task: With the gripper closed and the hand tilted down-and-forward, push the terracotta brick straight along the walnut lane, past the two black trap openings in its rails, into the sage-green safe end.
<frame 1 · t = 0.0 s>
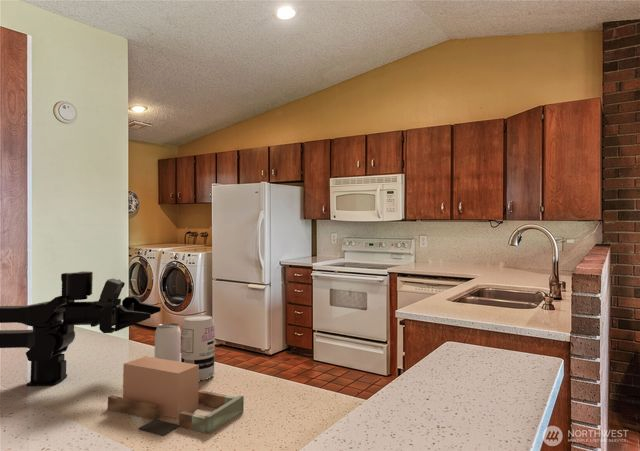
hand: (155, 312, 105), 17 cm above the worktop, tool horizontal, fingers open, 9 cm apart
lane: (175, 409, 86), on the worktop
can: (167, 371, 111), on the worktop
supplement can: (197, 377, 106), on the worktop
brick: (160, 407, 87), on the worktop
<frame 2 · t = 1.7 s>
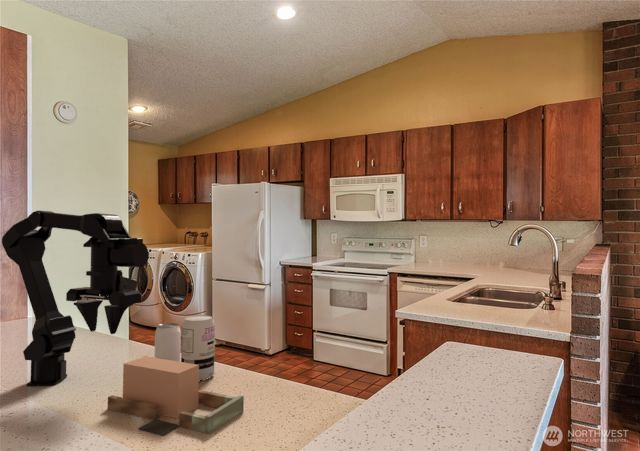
hand: (103, 332, 98), 13 cm above the worktop, tool pointing down, fingers open, 6 cm apart
nothing on the worktop moved.
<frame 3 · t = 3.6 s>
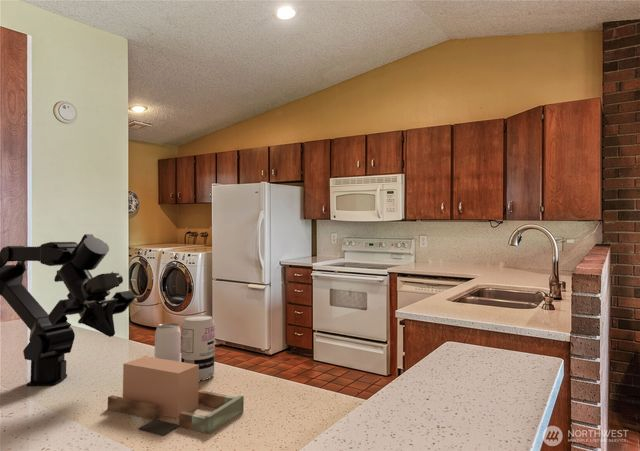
hand: (112, 335, 94), 13 cm above the worktop, tool tilted 45°, fingers closed
nothing on the worktop moved.
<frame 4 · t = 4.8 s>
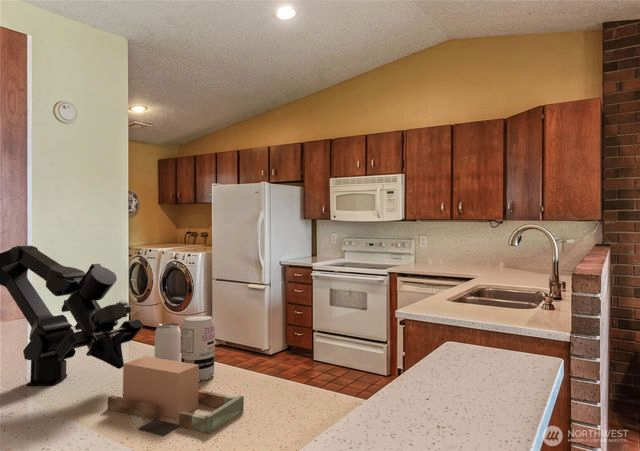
hand: (121, 367, 92), 7 cm above the worktop, tool tilted 45°, fingers closed
nothing on the worktop moved.
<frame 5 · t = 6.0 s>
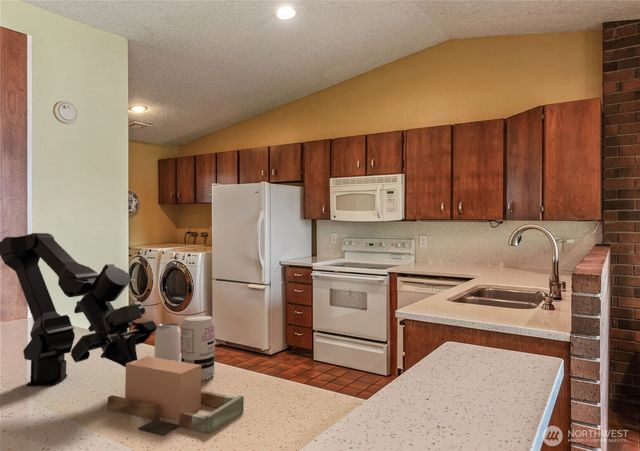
hand: (136, 369, 90), 7 cm above the worktop, tool tilted 45°, fingers closed
nothing on the worktop moved.
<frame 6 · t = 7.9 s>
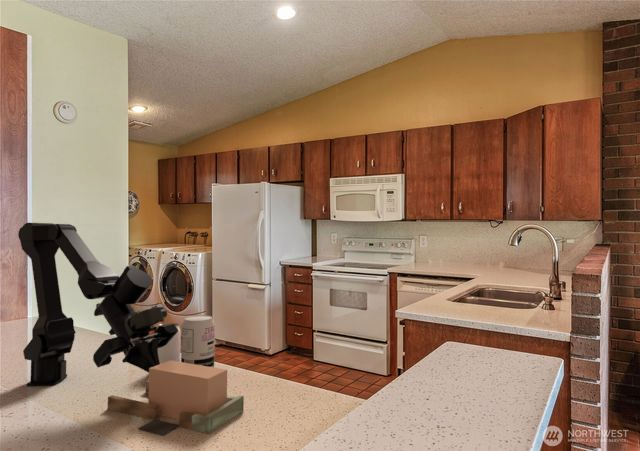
hand: (159, 374, 88), 7 cm above the worktop, tool tilted 45°, fingers closed
brick: (187, 413, 84), on the worktop
everything else where it was.
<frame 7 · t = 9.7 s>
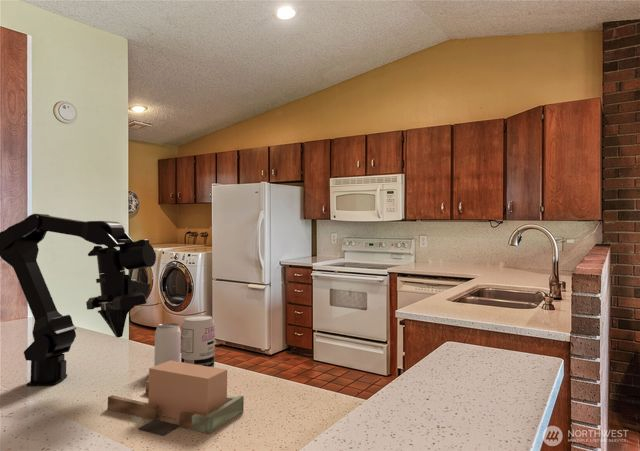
hand: (119, 337, 100), 12 cm above the worktop, tool pointing down, fingers closed
nothing on the worktop moved.
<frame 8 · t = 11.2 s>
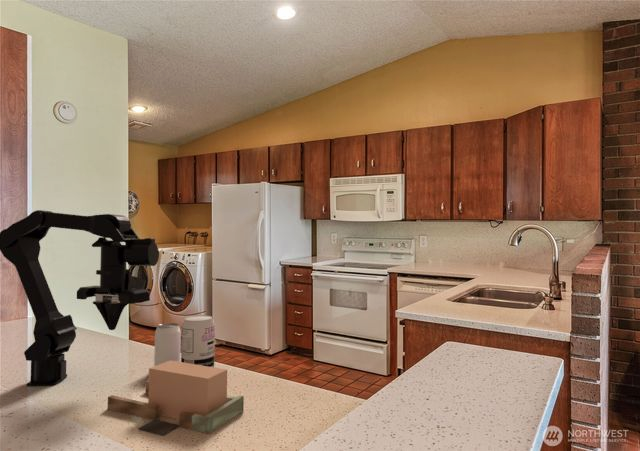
hand: (112, 329, 101), 13 cm above the worktop, tool pointing down, fingers closed
nothing on the worktop moved.
at the end: brick 0.7 cm from the target spot on the lane, point 0.0 cm above the lane's base; brick tilted 0°; brick moved 7.3 cm from its start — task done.
